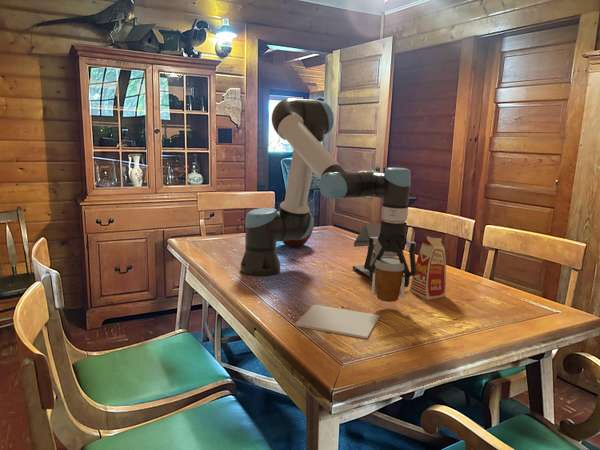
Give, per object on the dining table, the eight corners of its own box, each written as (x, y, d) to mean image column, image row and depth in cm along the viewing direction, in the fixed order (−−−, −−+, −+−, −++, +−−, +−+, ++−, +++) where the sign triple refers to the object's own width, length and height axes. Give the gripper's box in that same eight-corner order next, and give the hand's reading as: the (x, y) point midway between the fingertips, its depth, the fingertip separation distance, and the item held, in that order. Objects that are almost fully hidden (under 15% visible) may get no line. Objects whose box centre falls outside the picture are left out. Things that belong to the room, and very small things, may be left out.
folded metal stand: (397, 282, 166) (401, 228, 163) (373, 284, 164) (376, 229, 160) (374, 268, 184) (377, 218, 180) (352, 269, 181) (355, 219, 177)
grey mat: (294, 325, 125) (295, 323, 125) (314, 306, 140) (314, 304, 140) (367, 339, 119) (367, 336, 118) (379, 317, 133) (379, 315, 133)
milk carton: (427, 299, 149) (432, 239, 145) (408, 290, 157) (413, 233, 153) (448, 296, 153) (453, 237, 150) (428, 287, 161) (433, 231, 158)
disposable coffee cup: (404, 305, 135) (407, 266, 132) (371, 302, 136) (374, 263, 134) (402, 294, 144) (406, 257, 141) (372, 291, 145) (374, 254, 143)
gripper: (356, 219, 135) (351, 292, 140) (429, 227, 128) (421, 304, 133) (362, 215, 142) (357, 285, 147) (431, 222, 135) (424, 295, 140)
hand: (387, 294), depth 140 cm, fingers closed on disposable coffee cup, 8 cm apart
